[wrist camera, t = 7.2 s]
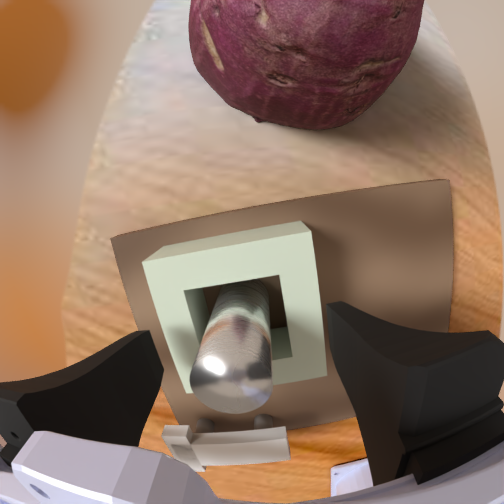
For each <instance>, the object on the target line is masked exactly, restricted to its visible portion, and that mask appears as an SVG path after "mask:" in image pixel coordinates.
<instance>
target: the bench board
mask: <svg viewBox="0 0 504 504" xmlns="http://www.w3.org/2000/svg"><path fill="white" fill-rule="evenodd" d="M296 221H302V222H303V223H304V224H305V225H306V226H307V227H308V229H309V230H310V231H311V234H312V240H313V247H314V254H315V262H316V269H317V277H318V285H319V294H320V303H321V312H322V321H323V331H324V342H325V354H326V366H327V376H323V377H318V378H313V379H308V380H302V381H297V382H291V383H284V384H278V385H273V390H272V393H271V396H270V397H269V399H268V400H267V401H266V402H265V403H264V404H263V405H262V406H261V407H259V408H257V409H255V410H253V411H250V412H246V413H239V414H231V413H223V412H220V411H216V410H214V409H212V408H209V407H208V406H206V405H205V404H203V403H202V402H201V401H200V400H199V399H198V398H197V397H196V396H195V395H194V393H186V391H185V389H184V386H183V384H182V381H181V379H180V376H179V374H178V371H177V369H176V366H175V363H174V361H173V358H172V355H171V353H170V350H169V347H168V344H167V341H166V339H165V336H164V333H163V330H162V327H161V324H160V321H159V318H158V315H157V312H156V308H155V305H154V302H153V299H152V296H151V292H150V289H149V286H148V282H147V279H146V275H145V272H144V268H143V264H142V262H143V261H144V260H145V259H147V258H148V257H149V256H151V255H152V254H153V253H155V252H156V251H158V250H159V249H160V248H162V247H163V246H167V245H172V244H177V243H182V242H188V241H193V240H198V239H203V238H208V237H214V236H219V235H224V234H229V233H235V232H240V231H246V230H251V229H257V228H262V227H268V226H273V225H279V224H285V223H290V222H296ZM110 239H111V243H112V247H113V250H114V254H115V258H116V261H117V265H118V269H119V272H120V275H121V279H122V282H123V285H124V289H125V292H126V295H127V298H128V301H129V304H130V307H131V310H132V313H133V316H134V319H135V322H136V325H137V327H138V330H139V331H142V330H150V333H151V336H152V339H153V341H154V344H155V347H156V349H157V352H158V355H159V357H160V360H161V362H162V365H163V367H164V373H163V378H162V382H161V387H162V389H163V392H164V394H165V396H166V398H167V400H168V402H169V405H170V407H171V409H172V411H173V413H174V415H175V417H176V419H177V421H178V423H179V425H165V427H164V430H163V433H162V435H161V436H162V438H163V440H164V442H165V443H166V445H167V447H168V448H169V450H170V451H171V453H172V455H173V456H174V458H175V459H177V460H179V461H181V462H183V463H185V464H187V465H189V466H190V467H191V468H192V469H193V470H194V471H202V472H205V470H206V466H210V465H242V464H257V463H268V462H277V461H285V460H291V458H290V447H289V442H288V437H287V432H286V430H292V429H298V428H304V427H310V426H316V425H321V424H326V423H331V422H335V421H340V420H344V419H349V418H353V417H356V414H355V411H354V409H353V406H352V404H351V402H350V399H349V397H348V395H347V393H346V390H345V388H344V386H343V384H342V381H341V379H340V377H339V375H338V372H337V370H336V368H335V365H334V361H333V358H332V354H331V351H330V345H329V333H328V322H327V311H326V304H328V303H333V302H338V301H343V302H345V303H347V304H350V305H352V306H354V307H356V308H358V309H360V310H362V311H364V312H366V313H368V314H370V315H372V316H375V317H377V318H380V319H382V320H385V321H388V322H390V323H394V324H397V325H401V326H404V327H408V328H413V329H418V330H425V331H432V332H445V333H448V329H449V320H450V311H451V299H452V283H453V218H452V202H451V191H450V181H449V180H446V179H437V180H428V181H419V182H410V183H402V184H394V185H386V186H379V187H371V188H364V189H357V190H350V191H343V192H336V193H330V194H323V195H317V196H311V197H305V198H299V199H293V200H287V201H281V202H275V203H270V204H264V205H259V206H253V207H248V208H242V209H237V210H232V211H227V212H222V213H217V214H212V215H207V216H202V217H197V218H192V219H187V220H183V221H178V222H173V223H169V224H164V225H160V226H155V227H151V228H146V229H142V230H138V231H133V232H129V233H125V234H121V235H117V236H115V237H113V238H110ZM257 279H258V280H259V281H260V282H261V283H262V284H263V285H264V286H265V287H266V289H267V292H268V295H269V311H270V329H275V328H281V327H287V320H286V314H285V308H284V302H283V296H282V290H281V284H280V278H279V275H274V276H268V277H263V278H257ZM222 286H223V284H221V285H214V286H208V287H202V289H203V293H204V296H205V300H206V304H207V308H208V312H209V315H210V316H211V314H212V311H213V308H214V305H215V303H216V300H217V297H218V294H219V292H220V289H221V287H222Z"/></svg>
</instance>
